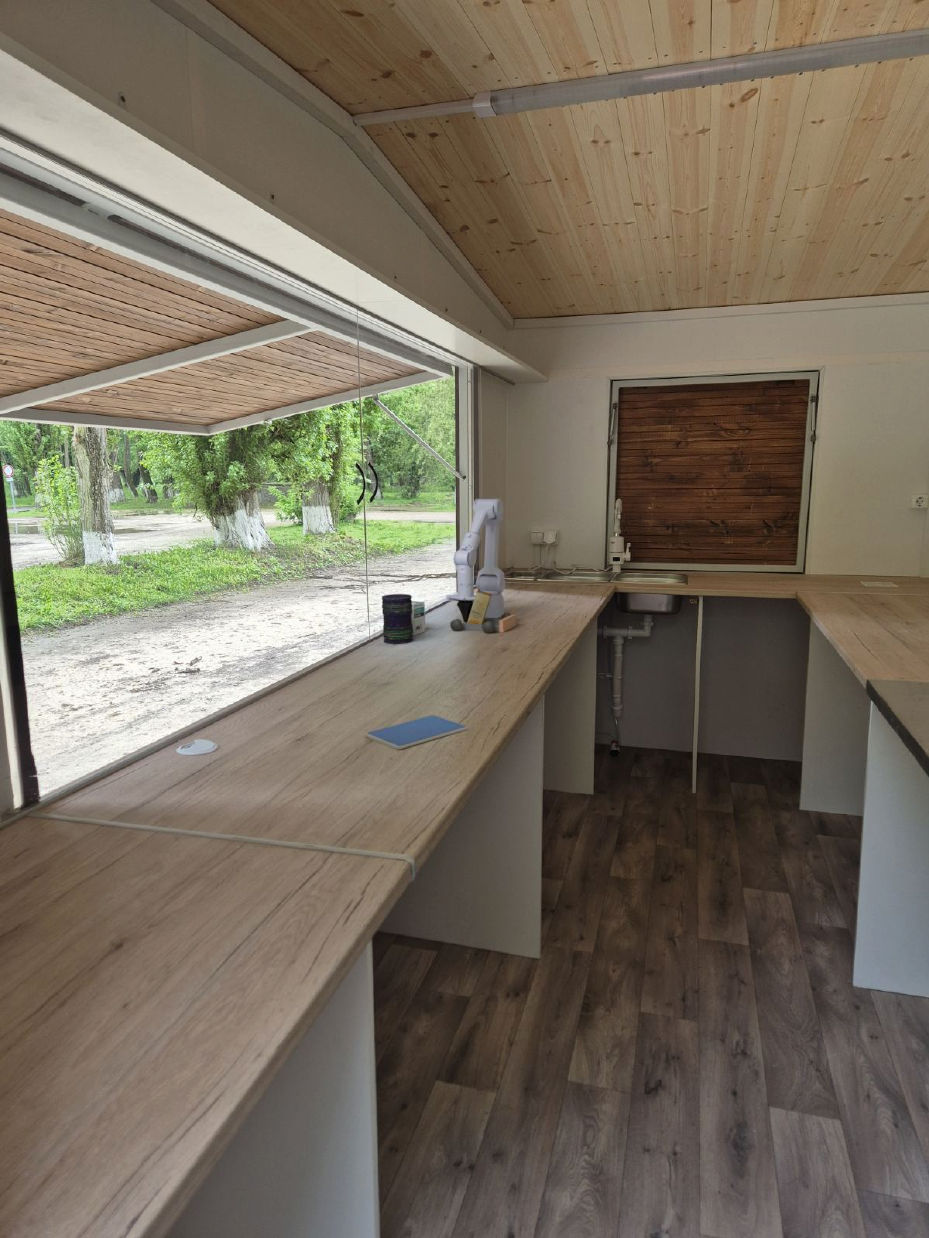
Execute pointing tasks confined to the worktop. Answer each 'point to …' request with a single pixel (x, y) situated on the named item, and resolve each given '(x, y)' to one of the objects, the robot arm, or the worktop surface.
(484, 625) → the chassis
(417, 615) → the light bulb box
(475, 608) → the shoe polish box
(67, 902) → the worktop surface
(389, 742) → the tablet computer
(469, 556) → the robot arm
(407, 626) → the storage jar
